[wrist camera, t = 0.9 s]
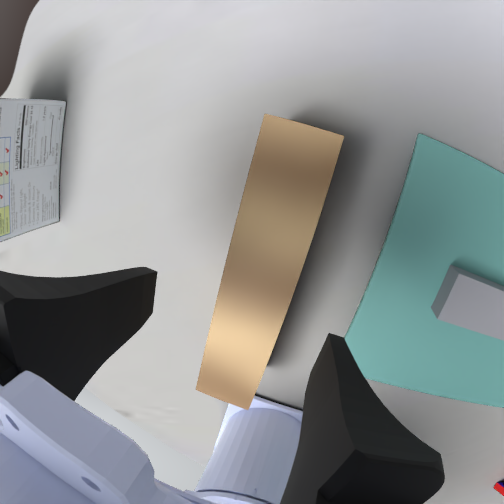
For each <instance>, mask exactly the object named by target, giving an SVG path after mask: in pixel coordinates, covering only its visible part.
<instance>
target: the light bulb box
mask: <svg viewBox="0 0 504 504" xmlns="http://www.w3.org/2000/svg"><path fill="white" fill-rule="evenodd" d="M65 107H66V102H65V101H58V100H43V99H6V98H0V242H2V241H5V240H8V239H11V238H13V237H16V236H18V235H21V234H24V233H27V232H30V231H33V230H36V229H39V228H42V227H45V226H48V225H51V224H54V223H57V222H59V172H60V154H61V142H62V131H63V122H64V114H65Z"/></svg>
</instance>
